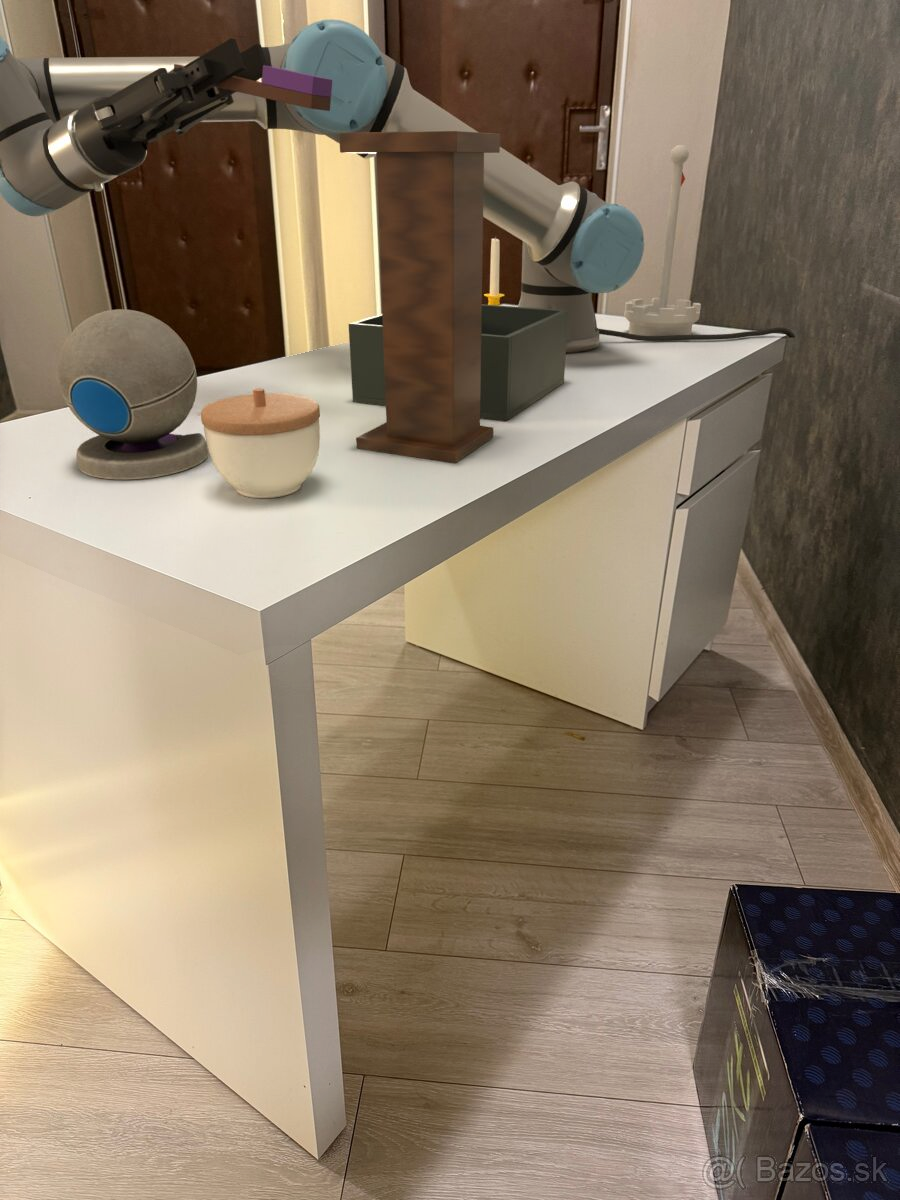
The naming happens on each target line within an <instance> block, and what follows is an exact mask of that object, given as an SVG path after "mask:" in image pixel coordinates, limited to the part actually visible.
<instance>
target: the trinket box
mask: <svg viewBox="0 0 900 1200" xmlns="http://www.w3.org/2000/svg"><path fill="white" fill-rule="evenodd" d="M320 417H321V408H320V404H319V403H318V402H317V400H315V399H313V398H310V397H308V396H304V395H299V394H292V393H281V392H280V393H277V392H266V391H265V388H261V387H257V388H253V389H252V393H248V394H241V395H234V396H230V397H226V398H222V399H218V400H216V401H212V402H210V403H207V404H206V405H204V407H203V408H201V411H200V420H201V424H202V426H203V429H204V430H203V431H204V438H205V440H206V443H207V447H208V455H209V457H210V459H211V461H212V464H213V466H214V467H215V469H216V471H217V472H218V474H219V475H220V476H221V477H222V479H223V480H224V481H226V482H227V483H228V484H229V485H231V486H232V487H234V488H235V489H236V492H237V493H238V494H240V495H241V496H244V497H248V498H251V499H253V498H254V499H275V498H281V497H284V496H288V495H291V494H294V493H296V492H297V491H299V490H300V489H301V488H302V483H303V482H305V481H306V479H308V477H309V476H310V475H311V474H312V472H313V470H314V468H315V466H316V464H317V461H318V457H319V452H320V446H321V427H320V426H321V425H320Z"/></svg>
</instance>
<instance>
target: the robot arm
mask: <svg viewBox="0 0 900 1200" xmlns="http://www.w3.org/2000/svg"><path fill="white" fill-rule="evenodd" d="M174 64H178V65H184V66H185V69H183V68H182V67H176V68H174ZM263 65H265V66H270V67H275V68H281V69H286V70H290V71H295V72H299V73H304V74H308V75H313V76H318V77H322V78H327V79H331V80H332V91H331V103H330V111H325V110H317V109H310V108H305V107H301V106H297V105H292V104H288V103H284V102H279V101H275V100H271V99H266V98H262V97H258V96H254V95H249V94H245V93H241V92H236V91H232V90H228V89H223V88H219V87H215V86H216V85H218V84H220V83H222V82H223V81H225V80H227V79H229V78H230V77H232V76H236V77H241V78H245V79H249V80H254V81H258V82H262V76H263ZM217 122H221V123H223V122H225V123H226V122H256V123H257V124H258V125H259V126H260V127H261V128H262V129H264V130H291V131H298V132H303V133H304V132H305V133H310V134H314V135H319V136H326V137H328V138H329V139H331V140H332V141H334V142H336V143H337V144H339V145H340V143H339V133H367V132H424V131H464V132H478V131H477V130H475V129H474V128H472V127H471V126H469V125H468V124H466V122H464V121H462V120H460V119H459V118H457V117H456V116H454V115H453V114H451V113H450V112H449V111H447V110H445V109H444V108H442V107H441V106H439V105H438V104H437V103H434V102H433V101H431V100H430V99H429V98H427V97H426V96H424V95H423V94H421V93H420V92H418V91H416V90H415V89H414V88H413V87H412V85H411V82H410V78H409V73H408V70H407V68H406V67H404V66H403V65H401V64H400V63H398V62H397V61H395V60H394V59H392V58H391V57H389V56H388V55H387V54H385V53H384V52H382V51H381V50H380V49H379V47H378V45H377V44H376V43H375V42H374V39H372V38H371V36H370V35H368V34H367V33H366V32H365V30H363V29H362V28H360V27H359V26H357V25H355V24H353V23H350V22H348V21H345V20H341V19H322V20H318V21H314V22H312V23H310V24H308V25H307V26H306V27H304V28H302V29H301V30H300V31H299V32H298V33H297V34H296V35H295V36H294V37H293V39H292V41H291V42H289V43H285V44H280V45H274V46H262V44H261V43H255V44H253V45H252V46H250V47H248V48H247V49H245V50H242V51H240V48H239V46H238V42H237V40H236V38H231V37H230V38H229V39H227V40H225V41H224V42H222V43H220V44H218V45H217V46H215V47H213V48H212V49H210V50H209V51H207V52H205V53H204V54H202V55H201V56H108V57H106V56H103V57H102V56H101V57H100V56H99V57H96V56H95V57H94V56H93V57H91V56H90V57H89V56H88V57H15V56H14V54H13V53H12V51H11V50H10V47H9V44H8V43H7V41H5V40H4V39H3V37H2V36H1V35H0V196H1V197H2V198H3V200H4V201H5V202H6V203H7V204H8V205H9V206H10V207H11V208H13V209H14V210H15V211H17V212H19V213H21V214H23V215H25V216H28V217H43V216H45V215H47V214H50V213H52V212H54V211H57V210H60V209H61V208H63V207H66V206H67V205H69V204H71V203H73V202H75V201H76V200H78V199H80V198H81V197H83V196H85V195H87V194H89V193H90V192H92V191H93V190H94V191H95V192H101V191H103V189H104V187H103V185H104V184H106V183H108V182H110V181H112V180H114V179H115V178H117V177H119V176H122V175H124V174H126V173H128V172H130V171H132V170H133V169H135V168H137V167H139V166H141V165H142V164H143V163H144V162H145V160H146V157H147V154H148V144H149V143H154V142H156V141H159V140H161V139H162V138H163V137H164V135H166V134H168V133H170V132H173V131H174V132H175V134H176V136H183V135H185V134H186V133H187V132H188V131H189V130H190V129H191V128H193V127H194V126H196V125H197V124H199V123H217ZM355 154H356V155H357V156H359V157H360V158H363V159H364V160H368V159H372V158H375V157H376V153H355ZM484 218H485V219H486V220H488V221H490V223H493V224H494V225H496V226H497V227H499V228H501V229H502V230H504V231H506V232H508V233H509V234H510V235H512V236H514V237H515V238H517V239H519V240H521V241H522V253H521V257H522V260H521V289H520V299H519V302H518V304H517V307H527V308H542V309H556V310H568V325H567V341H566V353H579V352H586V351H591V350H593V349H596V348H598V347H599V346H600V336H601V335H603V336H610V337H617V338H622V339H627V340H633V341H642V342H666V341H667V342H669V341H714V340H715V341H717V340H718V341H719V340H734V339H741V338H747V337H748V338H749V337H760V336H767V335H772V334H778V333H780V334H783V335H786V336H787V337H788V338H792V339H795V338H796V335H795V334H794V333H793V331H792V330H790V329H788V328H786V327H780V326H779V327H771V328H767V329H761V330H751V331H750V330H748V331H742V332H741V331H740V332H733V333H720V334H719V333H718V334H717V333H716V334H691V335H666V336H643V335H634V334H629V332H625V331H624V332H623V331H617V330H611V329H606V328H605V329H603V328H599V327H598V324H597V317H596V312H595V308H594V304H593V299H592V298H593V297H592V295H593V294H607V293H612V292H615V291H616V290H619V289H620V288H622V287H623V286H625V285H626V284H627V283H628V282H629V281H630V280H631V279H632V278H633V276H634V275H635V274H636V272H637V270H638V268H639V267H640V265H641V262H642V259H643V255H644V250H645V242H644V240H645V239H644V238H645V237H644V230H643V227H642V224H641V222H640V220H639V218H638V217H637V216H636V215H635V214H634V213H633V212H632V211H631V210H629V209H628V208H626V206H624V205H619V204H618V203H609V202H607V201H605V200H604V199H602V198H600V197H599V196H598V195H597V194H596V193H595V192H592V191H590V190H588V189H586V188H585V187H583V186H582V185H580V184H579V183H578V182H576V181H568V182H566V183H562V184H559V185H558V184H557V183H556V182H554V181H553V180H551V179H549V178H548V177H546V176H545V175H543V174H542V173H541V172H540V171H538V170H536V169H534V168H533V167H532V166H530V165H529V164H527V163H526V162H524V161H522V160H521V159H520V158H518V157H516V156H515V155H514V154H512V153H511V152H508V151H507V150H506V149H505V148H503V147H501V146H500V152H499V153H484V188H483V219H484Z"/></svg>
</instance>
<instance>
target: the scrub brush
mask: <svg viewBox="0 0 900 1200" xmlns="http://www.w3.org/2000/svg"><path fill="white" fill-rule="evenodd" d="M176 67H182V68H183V69H185V66H184V65H178V64H174V68H176ZM215 87H219V88H223V89H228V90H232V91H236V92H241V93H245V94H249V95H254V96H258V97H262V98H266V99H271V100H275V101H279V102H284V103H288V104H292V105H297V106H301V107H305V108H310V109H317V110H325V111H330V103H331V91H332V80H331V79H327V78H322V77H318V76H313V75H308V74H304V73H299V72H295V71H290V70H286V69H281V68H275V67H270V66H265V65H263V76H262V82H258V81H254V80H249V79H245V78H241V77H236V76H232V77H230V78H229V79H227V80H225V81H223V82H222V83H220V84H218V85H216V86H215Z"/></svg>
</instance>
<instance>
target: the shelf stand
mask: <svg viewBox="0 0 900 1200" xmlns="http://www.w3.org/2000/svg"><path fill="white" fill-rule="evenodd" d="M339 143H340V144H339ZM339 143H338V144H339V153H340V154H342V153H343V154H356V153H376V156H375V159H376V161H375V162H376V185H377V206H378V207H377V209H378V210H377V212H378V234H379V235H378V236H379V237H378V238H379V262H380V290H381V314H382V318H383V344H384V371H385V397H386V406H385V418H386V419H385V421H386V422H384V423H381V424H380V425H378V426H376V427H374V428H372V429H370V430H368V431H366V432H365V433H363V434H361V435H359V436H356V437H355V443H356V444H355V445H356V449H361V450H367V451H373V452H379V453H386V454H393V455H400V456H406V457H413V458H420V459H425V460H432V461H438V462H446V463H453V464H457V463H458V462H460V461H461V460H462V459H464V458H465V457H467V456H468V455H470V454H471V453H473V452H475V450H477V449H478V448H480V447H482V446H483V445H484V444H486V443H488V442H489V441H490V440H492V439H493V438H494V427H492V426H485V425H481V418H480V383H481V318H482V303H483V248H484V247H483V246H484V217H483V188H484V153H499V152H500V147H501V134H500V133H492V132H479V131H477V132H464V131H424V132H367V133H339Z"/></svg>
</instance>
